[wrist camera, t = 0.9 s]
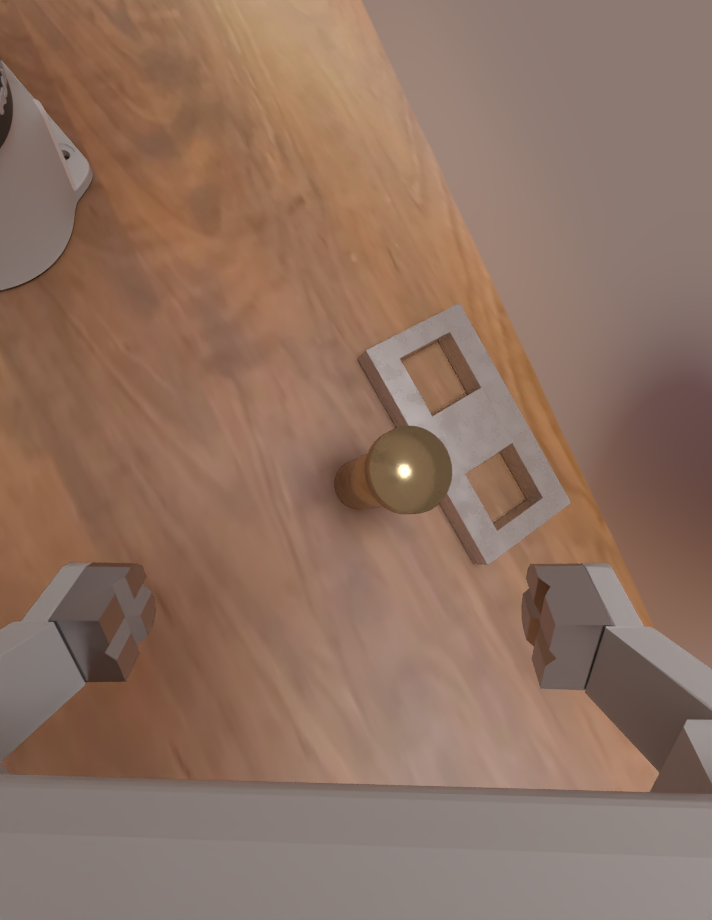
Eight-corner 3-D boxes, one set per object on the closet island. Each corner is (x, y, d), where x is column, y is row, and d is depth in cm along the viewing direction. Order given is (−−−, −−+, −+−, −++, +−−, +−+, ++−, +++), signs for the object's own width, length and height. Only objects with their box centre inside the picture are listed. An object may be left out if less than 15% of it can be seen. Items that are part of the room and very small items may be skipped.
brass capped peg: (313, 471, 45) (354, 451, 34) (368, 439, 47) (424, 410, 35) (347, 531, 45) (399, 530, 34) (401, 496, 47) (467, 485, 36)
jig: (357, 359, 48) (366, 350, 45) (447, 313, 51) (459, 302, 49) (473, 563, 48) (487, 565, 46) (553, 504, 52) (570, 502, 50)
